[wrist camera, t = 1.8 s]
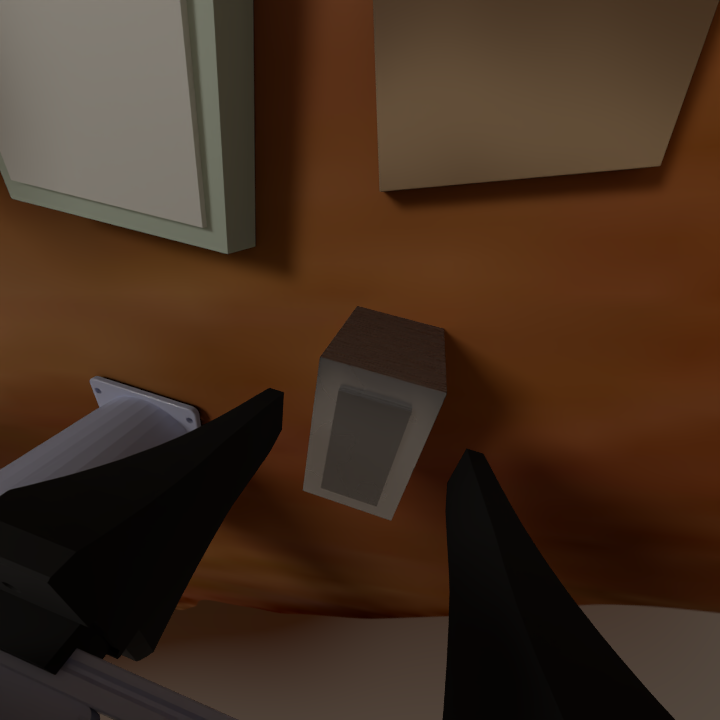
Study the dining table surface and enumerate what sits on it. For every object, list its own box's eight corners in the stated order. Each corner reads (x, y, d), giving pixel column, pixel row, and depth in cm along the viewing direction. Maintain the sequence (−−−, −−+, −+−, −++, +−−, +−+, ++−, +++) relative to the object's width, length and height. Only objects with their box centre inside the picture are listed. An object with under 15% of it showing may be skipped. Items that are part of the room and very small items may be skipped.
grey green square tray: (255, 246, 13) (223, 255, 11) (63, 198, 14) (3, 198, 12) (251, -150, 8) (189, -265, 6) (-57, -181, 9) (-198, -288, 7)
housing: (403, 436, 16) (390, 525, 12) (336, 416, 17) (300, 494, 12) (443, 328, 13) (446, 397, 8) (357, 305, 13) (318, 360, 9)
